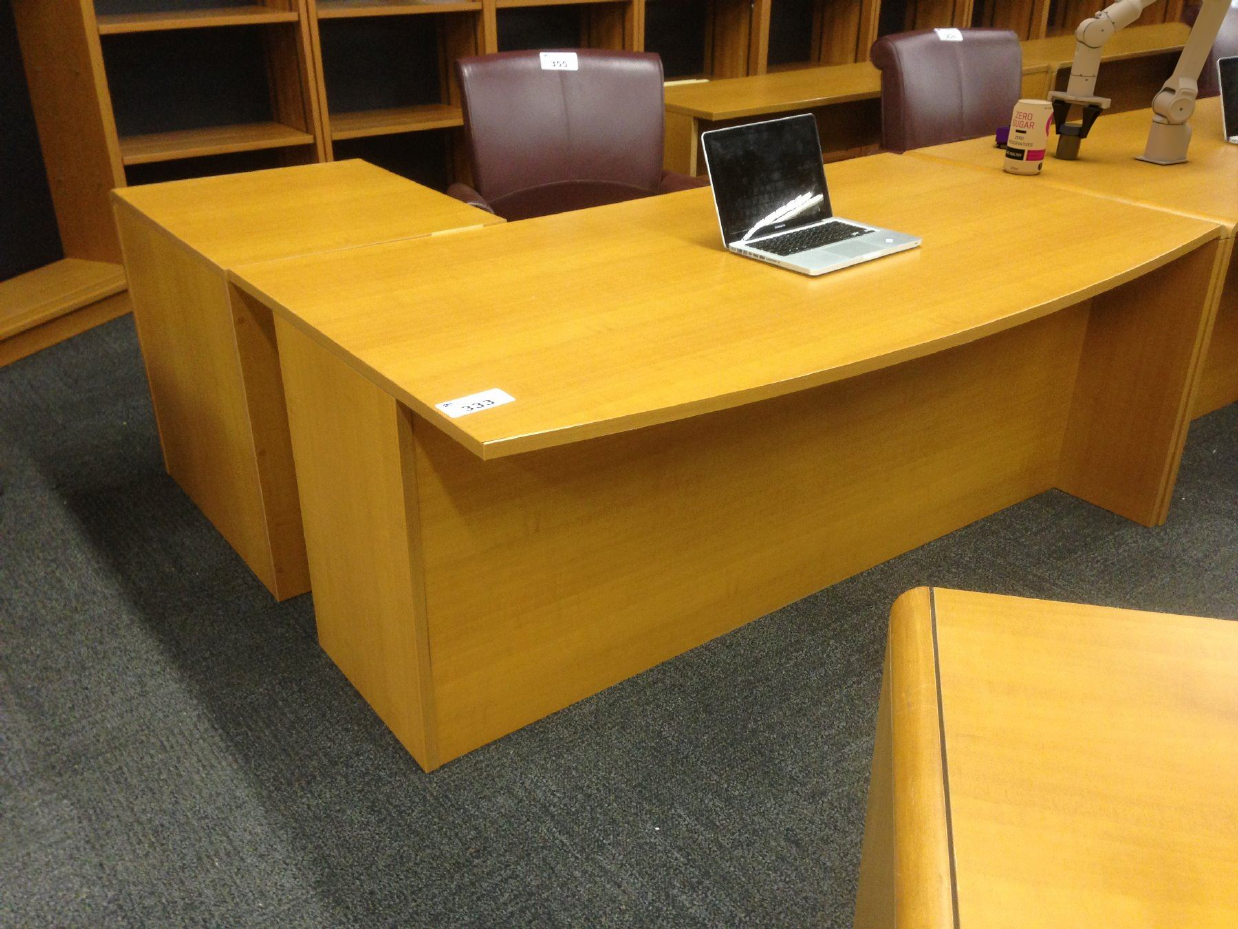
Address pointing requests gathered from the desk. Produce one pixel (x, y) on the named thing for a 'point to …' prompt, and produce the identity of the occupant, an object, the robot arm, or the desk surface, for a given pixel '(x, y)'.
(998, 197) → the desk surface
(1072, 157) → the jar
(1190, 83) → the robot arm
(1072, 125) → the lid
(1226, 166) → the desk surface
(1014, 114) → the supplement can
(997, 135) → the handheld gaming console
